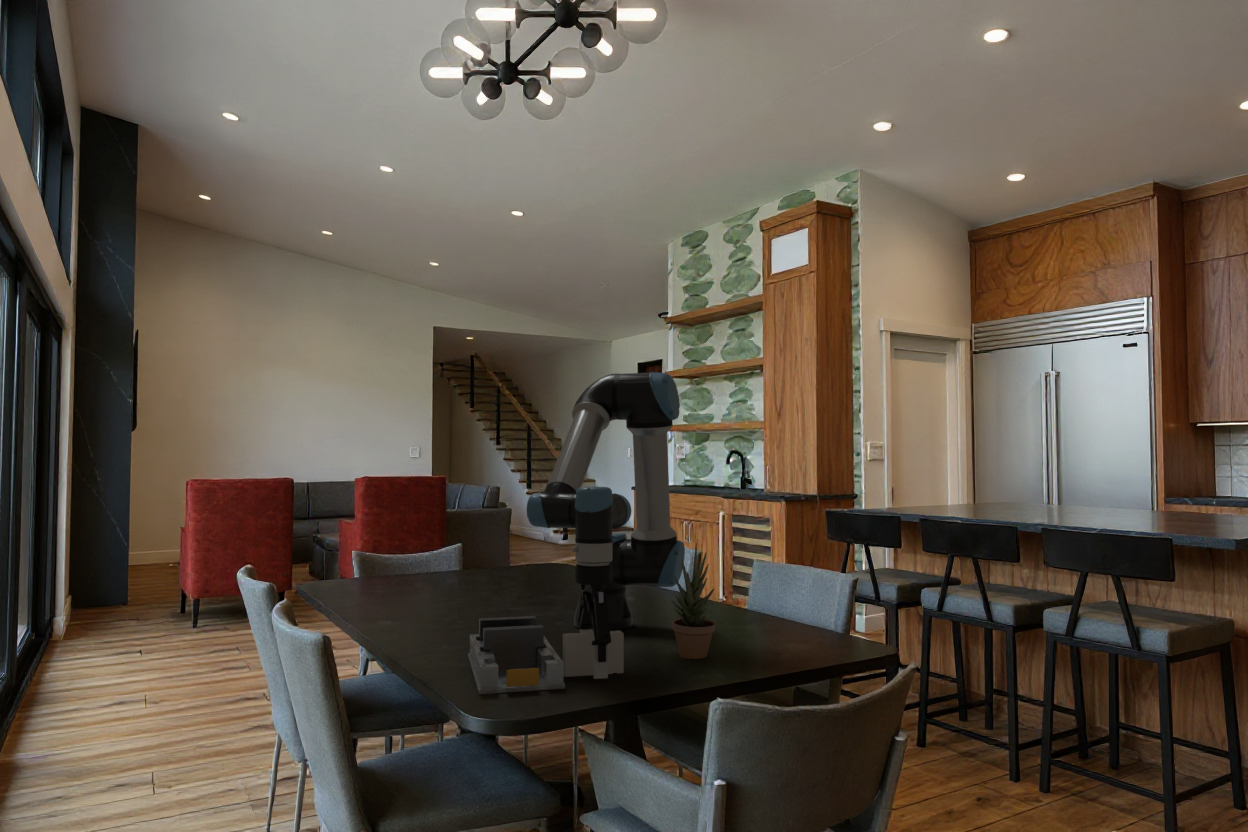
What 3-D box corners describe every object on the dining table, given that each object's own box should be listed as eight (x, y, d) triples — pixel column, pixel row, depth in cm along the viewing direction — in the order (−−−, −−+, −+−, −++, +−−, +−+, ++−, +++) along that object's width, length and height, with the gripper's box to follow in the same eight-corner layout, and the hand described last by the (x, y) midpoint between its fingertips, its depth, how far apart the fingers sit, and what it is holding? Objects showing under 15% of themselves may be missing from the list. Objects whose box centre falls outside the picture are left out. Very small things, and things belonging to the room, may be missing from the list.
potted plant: (720, 660, 178) (720, 544, 179) (677, 662, 177) (677, 545, 178) (708, 649, 188) (708, 539, 189) (667, 650, 186) (667, 540, 188)
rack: (468, 656, 181) (468, 615, 181) (541, 652, 185) (541, 612, 185) (479, 695, 152) (479, 646, 152) (565, 689, 156) (565, 641, 156)
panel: (562, 673, 167) (562, 633, 168) (620, 670, 170) (620, 630, 171) (564, 677, 165) (565, 636, 165) (623, 673, 168) (623, 633, 168)
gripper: (564, 556, 180) (563, 655, 179) (588, 572, 156) (587, 687, 155) (598, 555, 182) (597, 653, 181) (627, 571, 157) (626, 684, 156)
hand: (593, 669), depth 168 cm, fingers open, 13 cm apart
